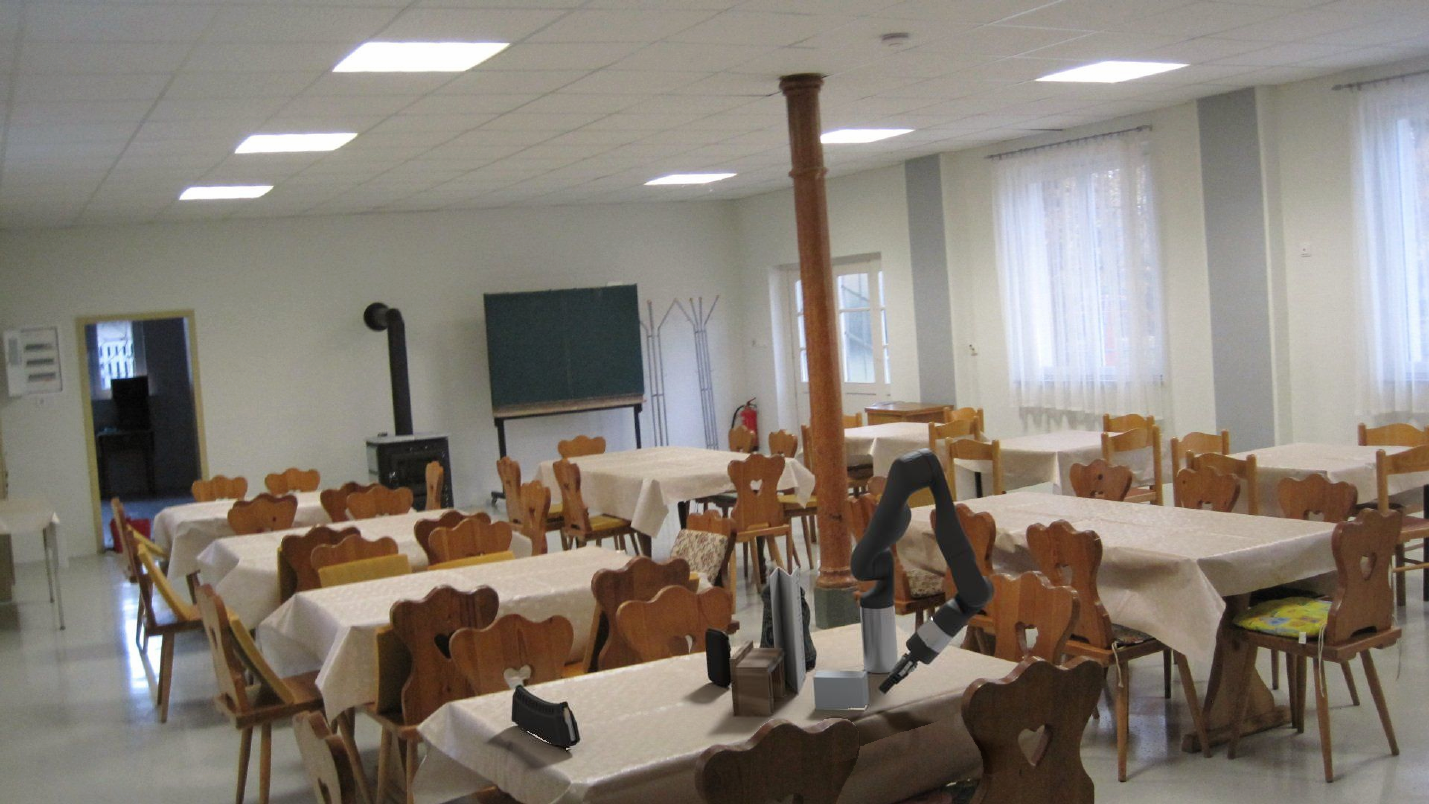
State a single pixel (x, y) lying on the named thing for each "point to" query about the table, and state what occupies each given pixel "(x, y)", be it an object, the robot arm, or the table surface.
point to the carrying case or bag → (718, 657)
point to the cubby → (756, 680)
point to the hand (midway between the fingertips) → (881, 690)
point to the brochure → (788, 624)
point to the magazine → (544, 718)
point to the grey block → (840, 689)
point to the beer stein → (767, 627)
